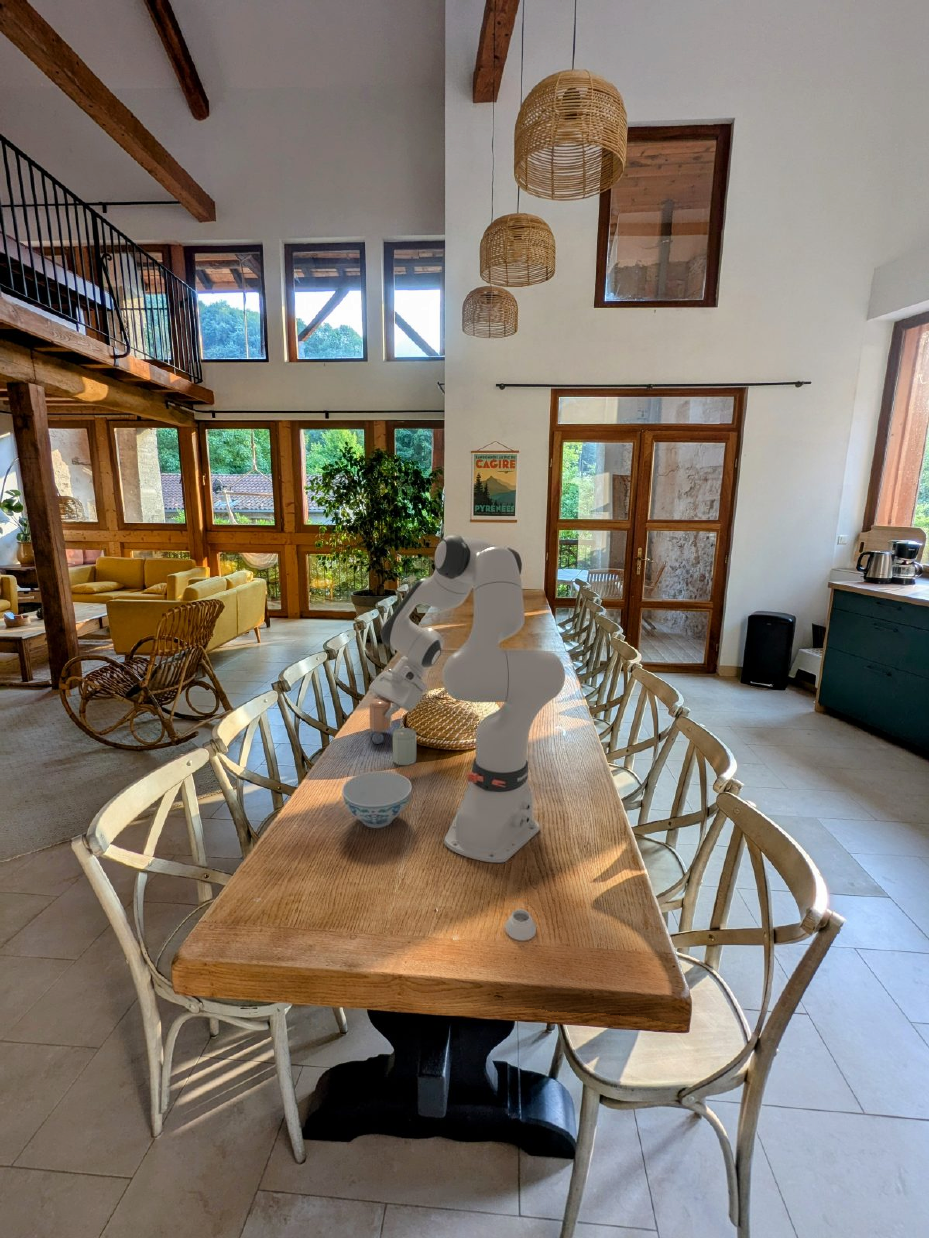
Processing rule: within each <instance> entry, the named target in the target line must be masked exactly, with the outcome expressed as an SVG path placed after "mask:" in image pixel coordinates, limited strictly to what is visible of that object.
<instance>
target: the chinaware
mask: <svg viewBox="0 0 929 1238" xmlns="http://www.w3.org/2000/svg"><path fill="white" fill-rule="evenodd" d="M412 789H413V787H412V782H411V781H410V780H409V779H408V778H407V777H406V776H403V774H399V773H397V772H393V771H383V770H382V771H370V772H365V773H361V774H358V775H355V776H354V777H351V778H350V779H349V780H347V781H346V782H345V783H344V784H343V786H342V790H341V791H342V792H341V793H342V798H343V801H344V804H345V806H346V808H347V810H348V811H349V813H350V814H352V816H353V817H355V818H356V819H357V820H359V821H361V822H362V824H363V825H365V826H366V827H369V828H373V829H379V828H384V827H386V826H389V825H390V824H391V823H393V821H394V819H395V818H397V817H398V816H399V815H400V814H402V812H404V810H405V808H406V806H407V804H408V803H409V801H410V798H411V796H412V795H411V793H412Z"/></svg>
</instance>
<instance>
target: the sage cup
mask: <svg viewBox="0 0 929 1238" xmlns="http://www.w3.org/2000/svg"><path fill="white" fill-rule="evenodd" d="M416 761H417V731H416V730H415V729H412V728H409V727H401V728H398V729H395V730H394V731H393V734H392V762H393V763H394V764H396V765H398V766H410V765H413V764H415V763H416Z"/></svg>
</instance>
